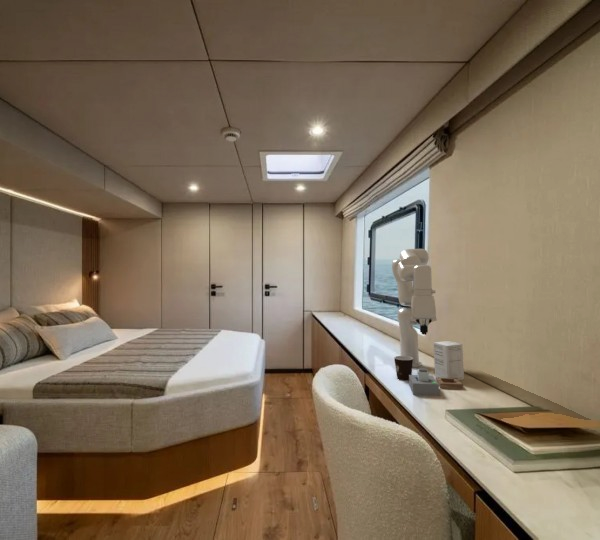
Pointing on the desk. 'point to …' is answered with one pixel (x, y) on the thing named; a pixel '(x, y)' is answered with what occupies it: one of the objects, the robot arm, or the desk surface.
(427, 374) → the plug
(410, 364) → the coffee mug
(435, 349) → the supplement box
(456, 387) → the brown wooden square base
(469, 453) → the desk surface
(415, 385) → the port
